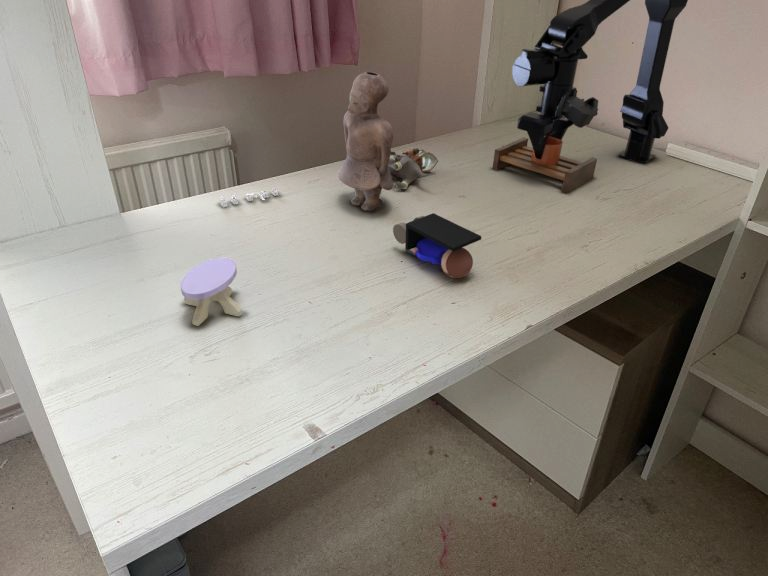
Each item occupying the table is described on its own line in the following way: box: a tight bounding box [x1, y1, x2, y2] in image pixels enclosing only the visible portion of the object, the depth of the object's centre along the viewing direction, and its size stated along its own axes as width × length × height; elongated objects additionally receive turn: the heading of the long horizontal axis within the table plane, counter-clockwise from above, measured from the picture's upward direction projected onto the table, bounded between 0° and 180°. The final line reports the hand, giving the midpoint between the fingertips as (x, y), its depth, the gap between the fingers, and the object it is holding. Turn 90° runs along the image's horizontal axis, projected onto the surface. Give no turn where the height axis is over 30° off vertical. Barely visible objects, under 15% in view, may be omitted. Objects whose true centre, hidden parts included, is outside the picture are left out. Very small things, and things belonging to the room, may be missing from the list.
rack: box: [491, 137, 598, 194], centre depth 134 cm, size 12×18×4 cm, turn 48°
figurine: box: [388, 147, 439, 190], centre depth 131 cm, size 20×6×17 cm
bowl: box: [532, 137, 564, 165], centre depth 133 cm, size 6×6×4 cm
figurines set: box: [219, 188, 279, 208], centre depth 118 cm, size 12×3×3 cm, turn 122°
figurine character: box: [392, 212, 482, 279], centre depth 99 cm, size 7×8×15 cm
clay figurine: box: [337, 71, 394, 212], centre depth 112 cm, size 13×10×25 cm
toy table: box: [180, 256, 243, 327], centre depth 86 cm, size 10×9×6 cm
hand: (545, 155), depth 133 cm, fingers closed on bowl, 6 cm apart
